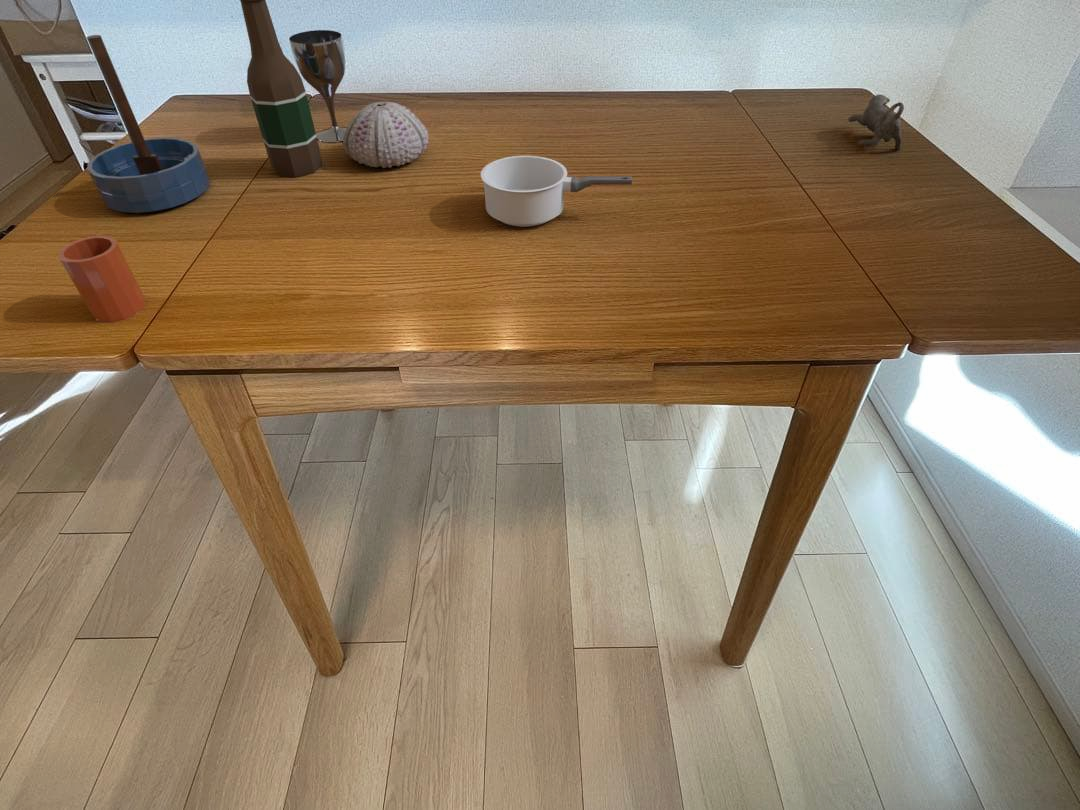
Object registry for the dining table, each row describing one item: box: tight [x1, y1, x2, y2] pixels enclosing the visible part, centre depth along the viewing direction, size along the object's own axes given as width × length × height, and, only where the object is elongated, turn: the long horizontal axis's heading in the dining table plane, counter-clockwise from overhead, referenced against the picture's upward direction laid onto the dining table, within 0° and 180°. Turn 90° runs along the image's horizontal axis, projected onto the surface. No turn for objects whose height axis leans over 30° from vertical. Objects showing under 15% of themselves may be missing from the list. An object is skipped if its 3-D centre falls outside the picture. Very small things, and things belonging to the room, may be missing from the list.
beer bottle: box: [239, 0, 323, 178], centre depth 93 cm, size 8×8×24 cm
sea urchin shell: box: [341, 101, 430, 169], centre depth 102 cm, size 13×14×8 cm
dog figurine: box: [847, 94, 905, 151], centre depth 105 cm, size 12×6×7 cm, turn 179°
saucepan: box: [480, 155, 633, 228], centre depth 88 cm, size 12×20×6 cm, turn 82°
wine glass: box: [288, 29, 347, 143], centre depth 106 cm, size 8×8×15 cm
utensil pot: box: [58, 235, 147, 323], centre depth 71 cm, size 5×6×8 cm
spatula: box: [86, 34, 163, 175], centre depth 88 cm, size 3×2×20 cm, turn 99°
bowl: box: [87, 137, 211, 214], centre depth 93 cm, size 14×14×6 cm
